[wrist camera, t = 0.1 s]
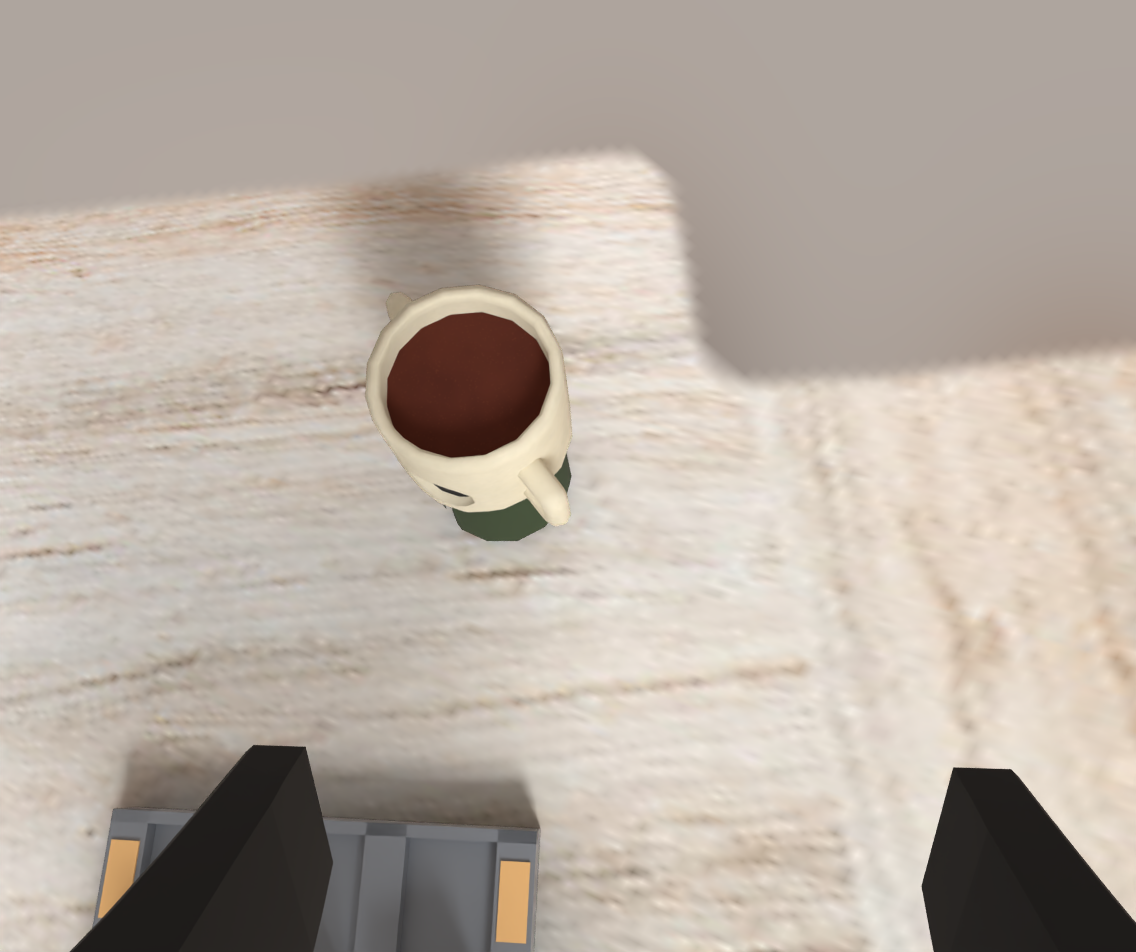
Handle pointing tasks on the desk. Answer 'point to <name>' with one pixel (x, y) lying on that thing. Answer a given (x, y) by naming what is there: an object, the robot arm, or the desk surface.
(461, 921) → the switch bank
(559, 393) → the character mug
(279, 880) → the robot arm
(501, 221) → the desk surface
